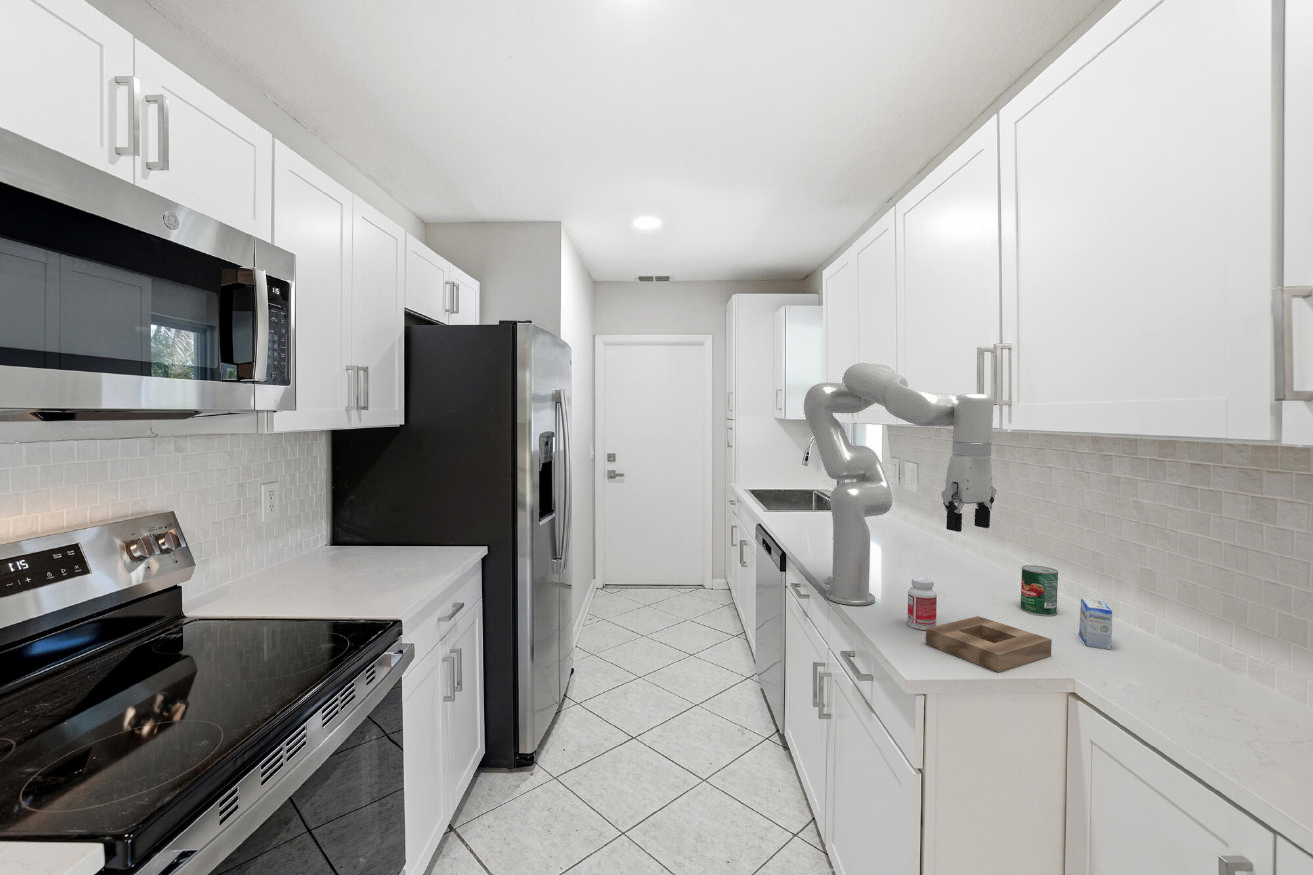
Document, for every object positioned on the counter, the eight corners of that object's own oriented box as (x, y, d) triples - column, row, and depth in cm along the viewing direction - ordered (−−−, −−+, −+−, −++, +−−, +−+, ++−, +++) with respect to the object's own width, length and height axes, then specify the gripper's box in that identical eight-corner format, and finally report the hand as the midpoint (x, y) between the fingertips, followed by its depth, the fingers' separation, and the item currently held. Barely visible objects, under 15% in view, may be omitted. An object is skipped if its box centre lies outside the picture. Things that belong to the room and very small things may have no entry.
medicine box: (1078, 634, 135) (1080, 597, 134) (1102, 638, 133) (1104, 600, 132) (1086, 646, 128) (1087, 607, 127) (1111, 650, 126) (1113, 610, 125)
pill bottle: (941, 627, 138) (942, 581, 138) (926, 632, 135) (927, 584, 134) (917, 620, 143) (918, 575, 143) (901, 624, 140) (902, 578, 140)
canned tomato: (1015, 610, 152) (1016, 567, 152) (1027, 604, 157) (1028, 563, 156) (1050, 618, 146) (1051, 574, 145) (1061, 612, 151) (1063, 569, 150)
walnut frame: (925, 644, 128) (926, 628, 128) (977, 631, 136) (978, 616, 136) (998, 672, 114) (998, 654, 114) (1051, 655, 122) (1051, 639, 122)
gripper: (979, 449, 136) (976, 522, 136) (930, 450, 127) (926, 528, 128) (1012, 451, 129) (1008, 528, 130) (962, 452, 121) (958, 535, 122)
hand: (968, 528), depth 129 cm, fingers open, 9 cm apart
